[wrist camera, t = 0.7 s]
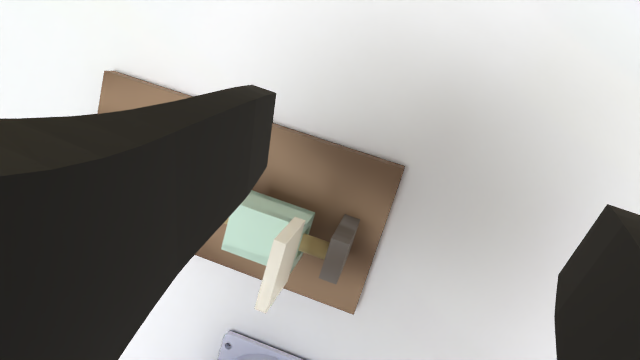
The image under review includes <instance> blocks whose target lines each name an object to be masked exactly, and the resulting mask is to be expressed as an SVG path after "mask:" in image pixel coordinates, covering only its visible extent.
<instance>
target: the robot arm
mask: <svg viewBox="0 0 640 360" xmlns="http://www.w3.org/2000/svg"><path fill="white" fill-rule="evenodd" d="M275 99H276V93H275V92H272V91H269V90H266V89H263V88H260V87H257V86H254V85H247V86H240V87H234V88H230V89H225V90H220V91H216V92H212V93H207V94H203V95H199V96H194V97H190V98H186V99H181V100H177V101H172V102H167V103H162V104H156V105H151V106H146V107H141V108H136V109H130V110H123V111H116V112H109V113H100V114H91V115H81V116H69V117H46V118H22V119H0V360H118V359H119V358H120V356H121V355H122V353H123V351H124V350H125V348H126V347H127V345H128V344H129V342H130V341H131V339H132V338H133V337H134V335H135V334H136V332H137V331H138V329H139V328H140V326H141V325H142V323H143V322H144V321H145V319H146V318H147V316H148V315H149V313H150V312H151V310H152V309H153V308H154V306H155V305H156V303H157V302H158V301H159V299H160V298H161V297H162V295H163V294H164V292H165V291H166V290H167V288H168V287H169V286H170V284H171V283H172V281H173V280H174V279H175V277H176V276H177V275H178V273H179V272H180V271H181V270H182V269H183V267H184V266H185V265H186V264H187V263H188V261H189V260H190V259H191V258H192V257H193V256H194V255H195V254H196V253H197V251H198V250H199V249H200V248H201V247H202V246H203V245H204V244H205V243H206V242H207V241H208V239H209V238H210V237H211V236H212V235H213V234H214V233H215V232H216V231H217V230H218V229H219V227H220V226H221V225H222V224H223V223H224V222H225V221H226V220H227V219H228V218H229V217H230V215H231V214H232V213H233V212H234V211H235V210H236V209H237V208H238V207H239V205H240V204H241V203H242V202H243V201H244V200H245V199H246V197H247V196H248V195H249V193H250V192H251V190H252V189H253V187H254V186H255V184H256V183H257V181H258V180H259V178H260V177H261V175H262V174H263V172H264V171H265V169H266V167H267V163H268V155H269V147H270V139H271V131H272V123H273V115H274V107H275ZM555 335H556V351H557V360H640V215H638V214H635V213H632V212H629V211H626V210H623V209H620V208H617V207H614V206H611V205H608V204H607V206H606V207H605V208H604V210H603V211H602V213H601V214H600V216H599V217H598V219H597V220H596V221H595V223H594V224H593V226H592V227H591V229H590V230H589V232H588V233H587V234H586V236H585V237H584V239H583V240H582V242H581V243H580V245H579V246H578V247H577V249H576V250H575V252H574V253H573V255H572V256H571V257H570V259H569V260H568V262H567V263H566V265H565V266H564V268H563V269H562V270H561V272H560V273H559V275H558V284H557V293H556V304H555ZM227 343H230V344H231V346H232V347H231V346H228V345H227ZM218 360H303V359H301V358H298V357H296V356H293V355H291V354H288V353H286V352H283V351H281V350H278V349H275V348H273V347H270V346H268V345H265V344H263V343H260V342H258V341H255V340H253V339H250V338H248V337H245V336H243V335H240V334H238V333H235V332H232V331H229V332H227V333H226V334H225V335H224V337H223V341H222V345H221V348H220V352H219V356H218Z"/></svg>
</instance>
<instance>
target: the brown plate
mask: <svg viewBox="0 0 640 360" xmlns="http://www.w3.org/2000/svg"><path fill="white" fill-rule="evenodd" d="M190 97H192V96H189V95H186V94H183V93H180V92H177V91H174V90H170V89H167V88H164V87H161V86H158V85H155V84H152V83H149V82H146V81H143V80H140V79H137V78H134V77H131V76H128V75H125V74H122V73H119V72H116V71H104V76H103V82H102V89H101V95H100V101H99V107H98V114H100V113H109V112H116V111H123V110H130V109H136V108H141V107H146V106H151V105H156V104H162V103H167V102H172V101H177V100H181V99H186V98H190ZM404 168H405V166H403V165H400V164H396V163H393V162H390V161H387V160H384V159H381V158H378V157H375V156H372V155H369V154H366V153H363V152H360V151H357V150H354V149H351V148H348V147H345V146H342V145H338V144H335V143H332V142H329V141H326V140H323V139H320V138H317V137H314V136H311V135H308V134H305V133H302V132H299V131H296V130H293V129H290V128H287V127H283V126H280V125H277V124H274V123H272V131H271V139H270V147H269V155H268V163H267V167H266V169H265V171H264V172H263V174H262V175H261V177H260V178H259V180H258V181H257V183H256V184H255V186H254V187H253V189H252V190H253V191H255V192H258V193H261V194H264V195H267V196H270V197H273V198H275V199H278V200H281V201H284V202H287V203H290V204H293V205H295V206H298V207H301V208H304V209H307V210H310V211H313V212H315V215H314V219H313V222H312V225H311V229H310V232H309V235H308V234H305V233H304V234H303V237H302V240H301V243H300V247H299V250H298V251H301V252H303V255H302V257H301V258H300V260H299V261H298V263H297V264H296V266H295V267H294V269H293V270H292V272H291V273H290V275H289V278H288V281H287V283H286V284H285V286H284V287H283V288H284V289H287V290H290V291H292V292H295V293H298V294H300V295H303V296H305V297H308V298H311V299H313V300H316V301H319V302H321V303H324V304H327V305H329V306H332V307H335V308H337V309H340V310H343V311H345V312H348V313H351V314H353V315H354V312H355V309H356V306H357V303H358V301H359V298H360V295H361V292H362V289H363V286H364V283H365V280H366V278H367V275H368V272H369V269H370V266H371V263H372V260H373V257H374V255H375V252H376V249H377V246H378V243H379V240H380V237H381V234H382V232H383V229H384V226H385V223H386V220H387V217H388V214H389V212H390V209H391V206H392V203H393V200H394V197H395V194H396V191H397V189H398V186H399V183H400V180H401V177H402V174H403V171H404ZM228 220H229V218H228V219H227V220H226V221H225V222H224V223H223V224H222V225H221V226H220V227H219V229H218V230H217V231H216V232H215V233H214V234H213V235H212V236H211V237H210V238H209V239H208V241H207V242H206V243H205V244H204V245H203V246H202V247H201V248H200V249H199V250H198V251H197V253H196V254H195V255H197V256H199V257H202V258H205V259H207V260H210V261H213V262H215V263H218V264H221V265H223V266H226V267H229V268H231V269H234V270H237V271H239V272H242V273H245V274H247V275H250V276H252V277H255V278H258V279H260V280H262V279H263V276H264V272H265V269H266V266H265V265H262V264H259V263H257V262H254V261H251V260H249V259H246V258H243V257H241V256H238V255H235V254H233V253H230V252H227V251H225V250H222V249H221V247H222V243H223V239H224V235H225V231H226V227H227V223H228Z"/></svg>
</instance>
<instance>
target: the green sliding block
mask: <svg viewBox="0 0 640 360" xmlns="http://www.w3.org/2000/svg"><path fill="white" fill-rule="evenodd" d="M314 215H315V212H313V211H310V210H307V209H304V208H301V207H298V206H295V205H293V204H290V203H287V202H284V201H281V200H278V199H275V198H273V197H270V196H267V195H264V194H261V193H258V192H255V191H253V190H251V192H250V193H249V195H248V196H247V197H246V199H245V200H244V201H243V202H242V203H241V204H240V205H239V207H238V208H237V209H236V210H235V211H234V212H233V213H232V214H231V215H230V217H229V220H228V223H227V227H226V231H225V235H224V239H223V243H222V247H221V249H222V250H225V251H227V252H230V253H233V254H235V255H238V256H241V257H243V258H246V259H249V260H251V261H254V262H257V263H259V264H262V265H265V266H266V269H265V272H264V276H263V279H262V283H261V287H260V290H259V294H258V297H257V301H256V304H255V308H254V309H256V310H258V311H261V312H263V313H267V312H268V310H269V309H270V307H271V306H272V304H273V302H274V301H275V299H276V298H277V296H278V295H279V293H280V292H281V290H282V289H283V287H284V286H285V284H286V283H287V281H288V278H289V275H290V273H291V272H292V270H293V269H294V267H295V266H296V264H297V263H298V261H299V260H300V258H301V257H302V255H303V252H301V251H298V250H299V247H300V243H301V240H302V237H303V234H304V233H305V234H308V235H309V232H310V229H311V225H312V222H313V219H314Z"/></svg>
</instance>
